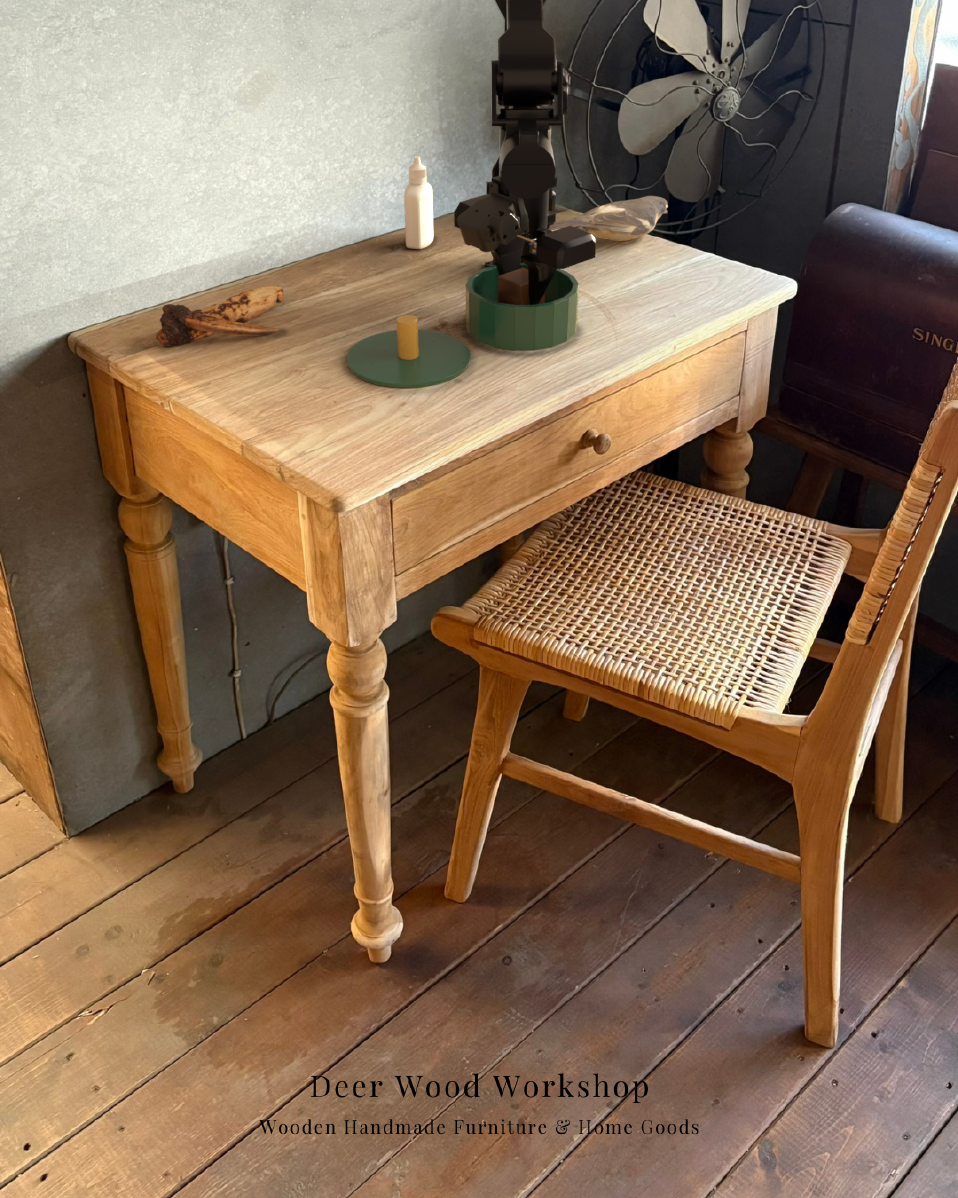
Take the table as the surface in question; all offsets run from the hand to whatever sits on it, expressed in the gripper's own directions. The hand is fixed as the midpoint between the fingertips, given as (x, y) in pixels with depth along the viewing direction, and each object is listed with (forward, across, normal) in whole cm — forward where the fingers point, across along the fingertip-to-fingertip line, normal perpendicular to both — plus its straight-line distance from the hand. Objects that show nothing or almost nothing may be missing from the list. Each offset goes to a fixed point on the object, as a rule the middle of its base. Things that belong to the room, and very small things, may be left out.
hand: (521, 299), depth 144 cm
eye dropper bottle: (+4, -31, +9) cm, 33 cm away
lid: (+3, -2, -16) cm, 16 cm away
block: (+1, 0, 0) cm, 1 cm away
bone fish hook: (+4, -23, -27) cm, 36 cm away
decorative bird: (+4, -13, +28) cm, 31 cm away
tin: (+4, 0, 0) cm, 4 cm away
